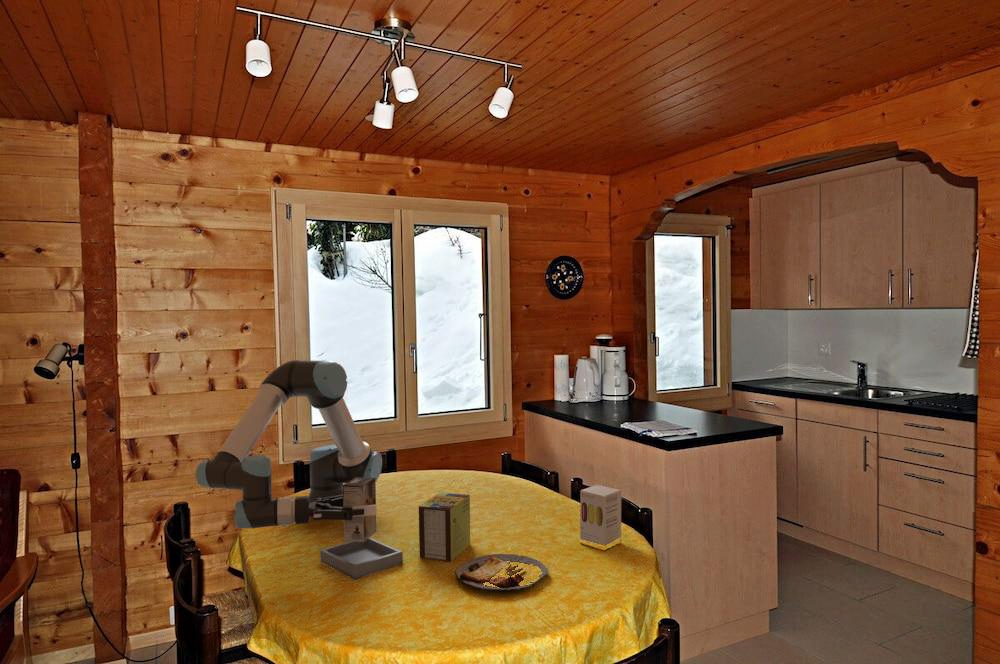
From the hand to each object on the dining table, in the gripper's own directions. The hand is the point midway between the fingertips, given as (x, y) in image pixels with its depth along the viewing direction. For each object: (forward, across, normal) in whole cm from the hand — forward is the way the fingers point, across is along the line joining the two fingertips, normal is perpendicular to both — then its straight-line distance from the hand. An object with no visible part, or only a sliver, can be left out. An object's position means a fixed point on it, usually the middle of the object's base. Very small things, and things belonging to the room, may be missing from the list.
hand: (374, 504), depth 191 cm
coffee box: (-4, 0, -9) cm, 10 cm away
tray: (-4, 0, -17) cm, 17 cm away
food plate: (+32, +20, -17) cm, 42 cm away
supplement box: (+68, +4, -17) cm, 70 cm away
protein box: (+21, -3, -17) cm, 27 cm away
